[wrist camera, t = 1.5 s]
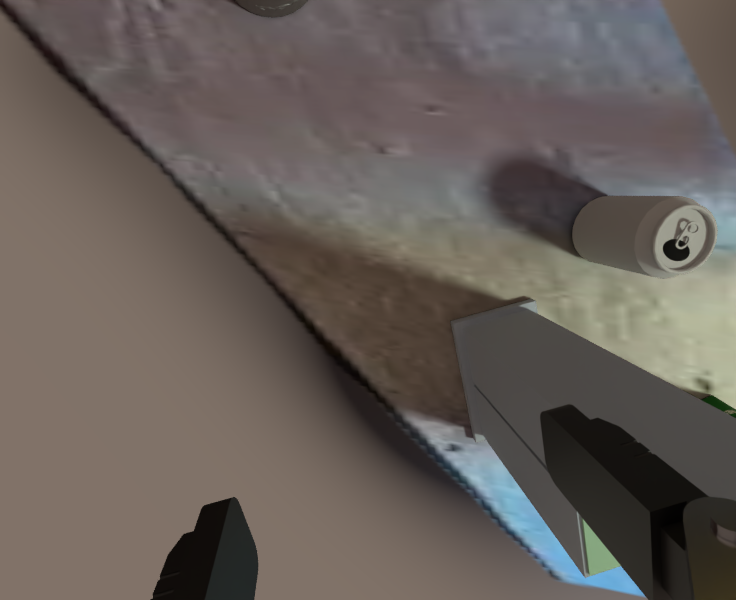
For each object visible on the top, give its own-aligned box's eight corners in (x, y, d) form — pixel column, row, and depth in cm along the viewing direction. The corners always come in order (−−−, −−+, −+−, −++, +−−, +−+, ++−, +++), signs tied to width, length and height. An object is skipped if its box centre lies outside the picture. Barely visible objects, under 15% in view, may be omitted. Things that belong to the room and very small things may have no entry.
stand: (450, 321, 49) (691, 539, 18) (531, 298, 49) (897, 471, 19) (473, 438, 53) (699, 776, 22) (547, 416, 54) (867, 715, 23)
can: (556, 248, 48) (634, 266, 37) (585, 185, 47) (675, 183, 35) (609, 270, 50) (699, 293, 38) (639, 209, 49) (742, 214, 37)
